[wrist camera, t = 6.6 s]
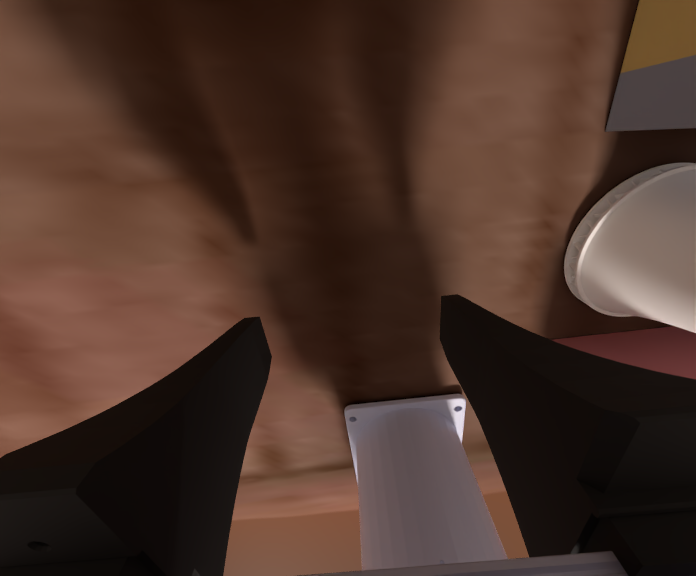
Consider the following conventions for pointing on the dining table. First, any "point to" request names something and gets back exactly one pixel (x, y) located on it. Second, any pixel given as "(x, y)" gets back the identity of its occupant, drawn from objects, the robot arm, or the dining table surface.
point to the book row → (653, 114)
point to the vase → (640, 249)
